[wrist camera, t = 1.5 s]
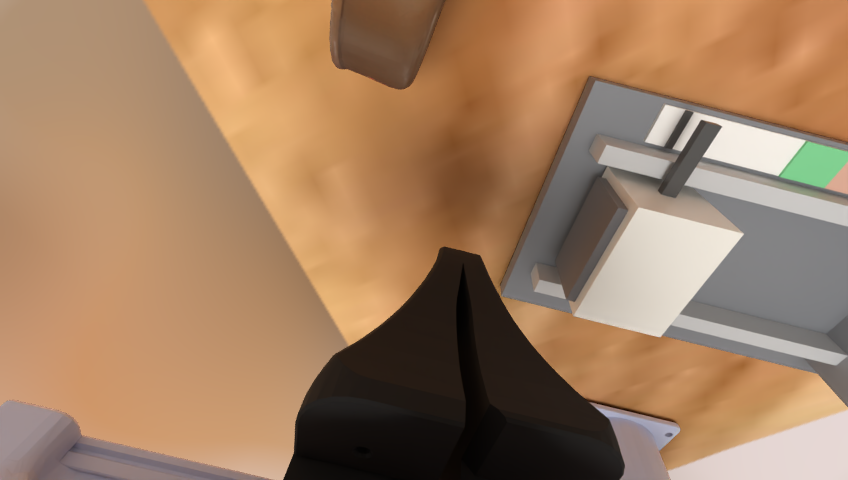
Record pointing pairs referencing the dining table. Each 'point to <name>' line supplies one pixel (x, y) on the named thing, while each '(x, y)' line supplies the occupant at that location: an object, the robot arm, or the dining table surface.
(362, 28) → the tin
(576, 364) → the dining table surface
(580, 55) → the dining table surface
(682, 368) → the dining table surface
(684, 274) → the slider
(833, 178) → the gauge rail
